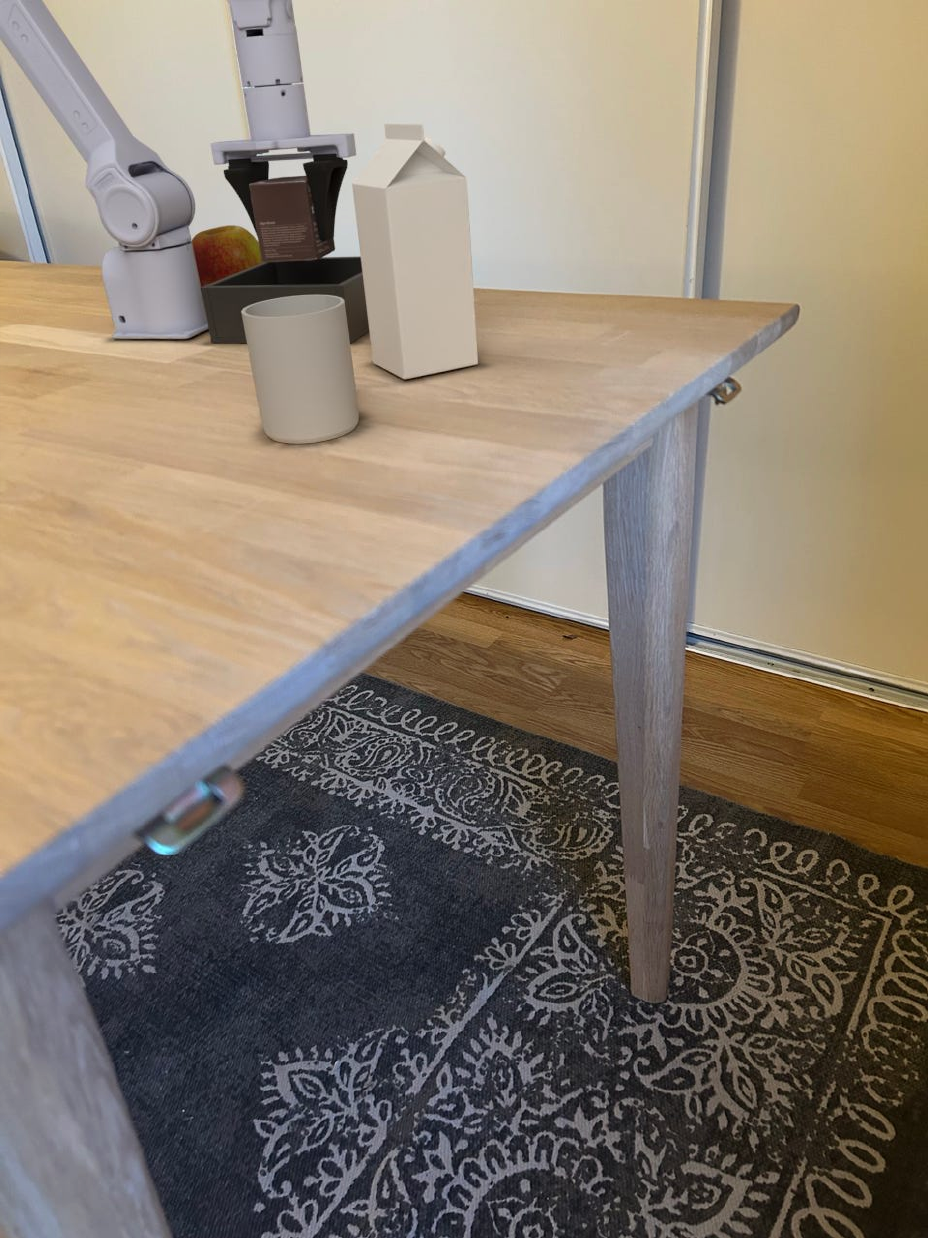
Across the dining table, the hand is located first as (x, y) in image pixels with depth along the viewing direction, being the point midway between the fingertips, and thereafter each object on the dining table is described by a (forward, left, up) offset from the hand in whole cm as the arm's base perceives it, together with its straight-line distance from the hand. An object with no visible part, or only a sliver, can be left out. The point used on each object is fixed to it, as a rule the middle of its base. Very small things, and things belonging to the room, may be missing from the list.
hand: (296, 239), depth 96 cm
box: (0, 0, -2) cm, 2 cm away
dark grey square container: (0, +1, -9) cm, 9 cm away
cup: (+14, -30, -9) cm, 34 cm away
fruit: (-18, +16, -9) cm, 26 cm away
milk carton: (+18, -14, -9) cm, 24 cm away
